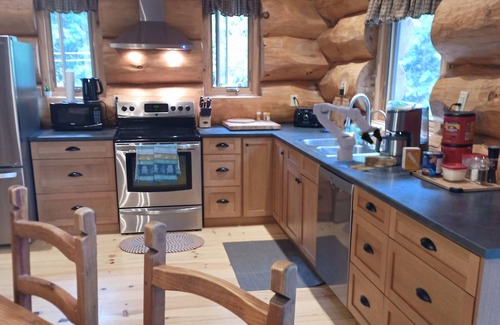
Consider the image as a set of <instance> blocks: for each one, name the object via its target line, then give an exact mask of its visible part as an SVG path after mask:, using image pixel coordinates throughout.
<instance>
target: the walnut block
mask: <svg viewBox="0 0 500 325" xmlns="http://www.w3.org/2000/svg"><path fill="white" fill-rule="evenodd" d="M371 156H372V155H371ZM371 156H370V155H369V156H365V157H364V163H365V165H364V166H367V167H374V166H375V157H371Z"/></svg>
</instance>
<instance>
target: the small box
mask: <svg viewBox="0 0 500 325" xmlns="http://www.w3.org/2000/svg"><path fill="white" fill-rule="evenodd" d="M420 161H421V148H420V147H418V146H416V147H415V146H414V147H413V146H412V147H411V146H410V147H409V146H408V147H407V146H405V147H402V160H401V168H402V169H403V172H404V173H415V172H414V171H419V172H420V165H421V164H420V163H421V162H420Z"/></svg>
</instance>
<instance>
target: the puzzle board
mask: <svg viewBox="0 0 500 325" xmlns="http://www.w3.org/2000/svg"><path fill="white" fill-rule="evenodd" d="M372 156H373V155H371V157H372ZM396 165H397V157H396V158H395V157H391V158H388V159H379V158H375V166H371V167H369V166H365V162H363V163H357V164H352V165H351V164H350V165H348V167H347V169H349V168H350V170H353V169H354V170H353V171H356V172H360V171H361V172H362V173H364V172H365V173H370V172H371V171H369V170H372V169H377V168H378V169H379V168H380V169H381V168H384V167H389V166H390V167H391V166H396ZM361 172H360V173H361Z"/></svg>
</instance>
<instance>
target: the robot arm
mask: <svg viewBox="0 0 500 325" xmlns="http://www.w3.org/2000/svg"><path fill="white" fill-rule="evenodd" d="M330 111H331V112H337V113H338V115H340V116H343V117H347V118H348V119H349V120H352V121H353V122H354V123H355V125H356V126H357V127H358V129H359V130H360V131H359V132H358V133H357V135H358V136H359V137H360V139H361V140H363V141H365V142H367V143H368V144H369V145H371V146H373V145H374V143H375V142H374V141H373V140H374V139H372V137H371V136H370V134H371V133H373V134H372V136H373V137H375V139H377V141H379V143H382V142H383V141H384V139H383V137H382V135H381V130H380V128H378V127H377V126H373V125H371V124H370V123H369V122H368V121H367V120H366V118H365V117H364V116H363V115H362V111H361V109H359V108H357V107H356V108H353V106H350V107H349V106H347V105H346V104H343V105H340V106H339V105H336V104H332V103H329V102H323V103H315V104H314V105H313V107H312V113H313V114H314V115H315V116H316V119H317V120H318V121H317V122H319V123H320V125H322V126H323V127H324V128H325V129H326V130H327V131H328V132H329V133H330V134H331V135H332V136H333V137H334V138H336V143H337V145H338V146H339V147H338V149H337V150H336V162H340V161H341V162H347V163H348V162H353V160H354V157H353V156H354V147H355V145H356V144H357V141H356V138H355V137H354V136H352V135H350V134H348V133H345V132H343V130H342V129H341V128H339V127H338V126H337V125H336V124H335V123H334V122H333V121H332V120H331V119H329V116H330Z"/></svg>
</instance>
